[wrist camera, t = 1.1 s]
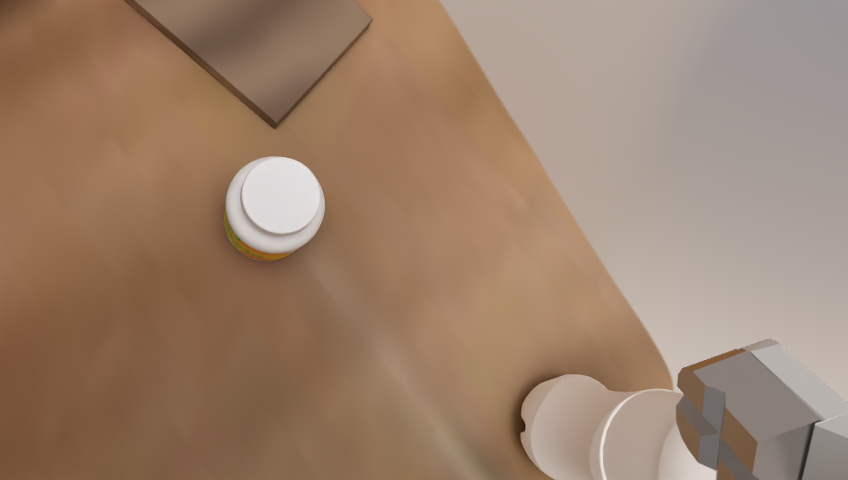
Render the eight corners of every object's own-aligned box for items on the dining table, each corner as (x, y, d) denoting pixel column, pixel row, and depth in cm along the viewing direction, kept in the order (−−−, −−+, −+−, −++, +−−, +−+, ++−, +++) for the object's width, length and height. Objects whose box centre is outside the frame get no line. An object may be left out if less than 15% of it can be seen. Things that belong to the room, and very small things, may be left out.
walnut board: (124, 0, 41) (121, -11, 40) (231, -98, 44) (232, -112, 43) (274, 129, 43) (276, 123, 42) (368, 27, 46) (373, 18, 45)
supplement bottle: (204, 218, 41) (202, 190, 32) (267, 162, 43) (283, 121, 34) (265, 279, 42) (280, 270, 33) (325, 222, 44) (355, 198, 35)
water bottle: (561, 493, 47) (918, 676, 23) (488, 433, 46) (786, 560, 22) (613, 410, 49) (990, 501, 25) (545, 350, 48) (873, 386, 24)
